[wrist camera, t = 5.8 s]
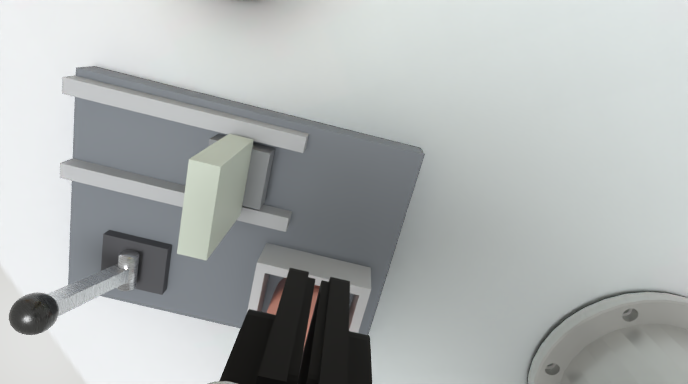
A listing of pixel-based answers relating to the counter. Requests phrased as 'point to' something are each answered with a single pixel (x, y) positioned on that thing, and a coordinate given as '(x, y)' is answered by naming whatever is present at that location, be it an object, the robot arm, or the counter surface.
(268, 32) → the counter surface
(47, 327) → the toggle
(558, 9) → the counter surface
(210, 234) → the pale green block
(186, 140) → the panel
